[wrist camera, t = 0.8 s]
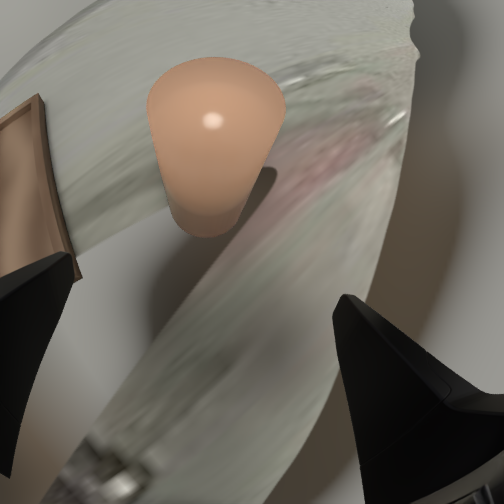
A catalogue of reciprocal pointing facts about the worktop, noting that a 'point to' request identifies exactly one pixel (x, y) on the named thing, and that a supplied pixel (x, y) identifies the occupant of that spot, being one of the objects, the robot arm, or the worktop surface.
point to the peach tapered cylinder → (212, 138)
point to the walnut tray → (28, 191)
